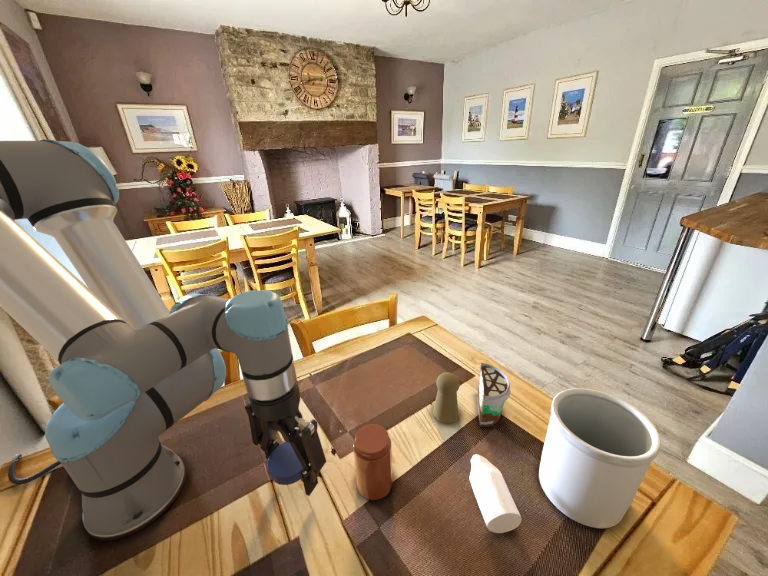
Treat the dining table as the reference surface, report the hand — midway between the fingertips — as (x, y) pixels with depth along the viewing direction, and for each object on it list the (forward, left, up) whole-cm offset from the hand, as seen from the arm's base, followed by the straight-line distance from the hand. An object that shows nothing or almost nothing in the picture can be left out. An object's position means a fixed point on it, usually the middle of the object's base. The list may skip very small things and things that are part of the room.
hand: (294, 479), depth 59 cm
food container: (+41, +21, -2) cm, 46 cm away
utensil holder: (+53, +4, -2) cm, 53 cm away
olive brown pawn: (+30, +20, -2) cm, 36 cm away
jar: (+15, +2, -2) cm, 15 cm away
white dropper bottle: (+36, +1, -2) cm, 36 cm away
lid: (0, 0, +6) cm, 6 cm away
